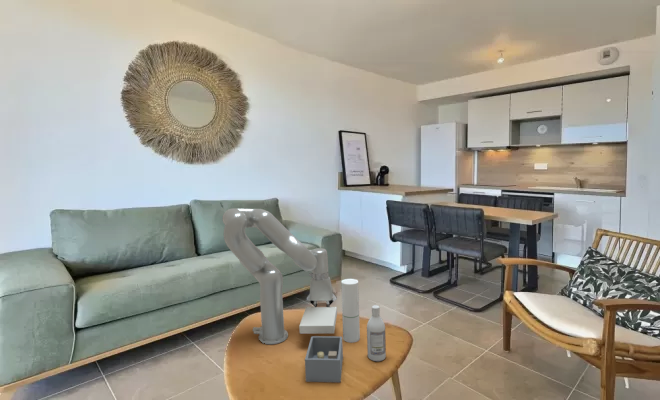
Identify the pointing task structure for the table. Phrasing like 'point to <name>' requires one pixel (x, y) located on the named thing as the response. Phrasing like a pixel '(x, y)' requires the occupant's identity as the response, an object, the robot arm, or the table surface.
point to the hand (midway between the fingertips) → (322, 313)
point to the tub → (324, 359)
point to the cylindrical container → (350, 310)
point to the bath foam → (376, 336)
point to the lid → (318, 319)
